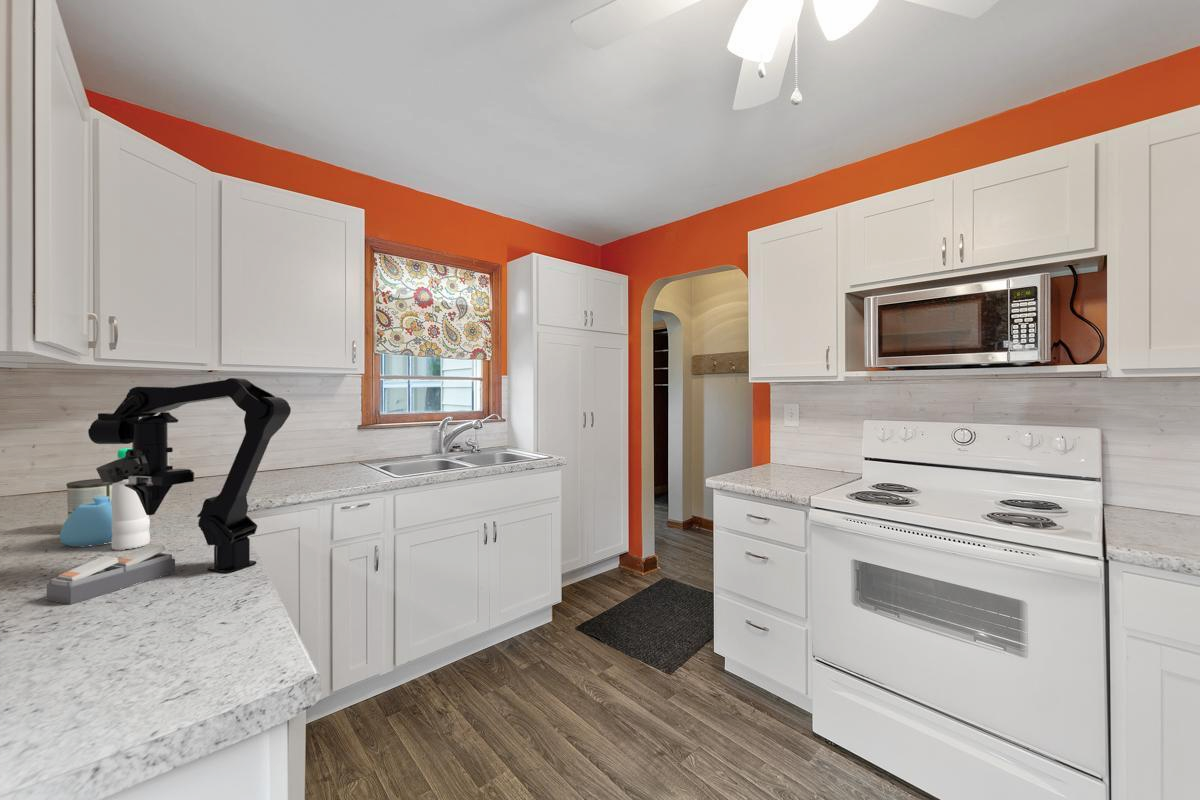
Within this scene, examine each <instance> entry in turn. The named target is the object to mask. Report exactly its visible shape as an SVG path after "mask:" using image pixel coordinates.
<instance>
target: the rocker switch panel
mask: <svg viewBox="0 0 1200 800" xmlns="http://www.w3.org/2000/svg"><path fill="white" fill-rule="evenodd" d="M174 572H175V573H176V558H173V554H170V553H163V552H160V553H158V554H156V555H154V556H152V557H150V558H148V559H145V560H143V561H141V562H139V563H137V564H133V565H129V566H125V567H122V566H115V565H111V566H109V567H107V568H105V569H103V570H100V571H98V572H96V573H94V574H92V575H90V576H87V577H85V578H81V579H77V580H74V581H65V580H59V577H58V576H57V577H55V578H54V577H53V578H51V579H50V580H49V583H47V584H46V601H50V602H51V601H52V602H56V603H62V604H66V605H73V604H77V603H81V602H83V601H84V602H85V601H86V600H90V598H91V599H94V598H97V597H100V596H103V595H102V594H104V595H106V593H107V594H110V593H113V592H112V591H114V592H116V591H115V590H117V589H120V588H123V587H127V586H130V585H133V584H136V583H139V582H143V581H146V582H148V581H147V580H150V581H152V580H151V579H153V580H155V579H154V578H156V579H158V578H157V577H159V578H161V577H160V576H163V577H165V576H164V575H166V576H168V575H167V574H169V575H172V574H171V573H173V574H175V573H174ZM143 583H144V582H143ZM136 585H137V584H136ZM133 586H134V585H133ZM130 587H131V586H130ZM127 588H128V587H127ZM123 589H124V588H123ZM120 590H121V589H120ZM117 591H118V590H117ZM109 592H110V593H109ZM99 595H100V596H99ZM96 596H97V597H96ZM93 597H94V598H93Z"/></svg>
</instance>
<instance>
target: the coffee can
mask: <svg viewBox="0 0 1200 800" xmlns="http://www.w3.org/2000/svg"><path fill="white" fill-rule="evenodd" d="M112 485H113V484H112V483H111V482H102V480H101V478H92V479H91V478H90V479H81V480H76V481H71V482H67V483H66V487H67V488H66V490H67V491H66V493H67V494H66V497H67V498H66V499H67V501H66V502H67V518H68V517H69V516H70V515H71V513H72V512H73V511H74V510H75V509H76V508H77V507H78V506H80V505H84V504H89V503H95V501H94V499H93V498H96V497H103V496H108V497H109V500H108V501H111V497H112Z"/></svg>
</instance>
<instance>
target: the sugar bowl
mask: <svg viewBox="0 0 1200 800" xmlns="http://www.w3.org/2000/svg"><path fill="white" fill-rule="evenodd" d="M93 499H94V501H95V503H89V504H84V505H80V506H78V507H77V508H76V509H75V510H74V511H73V512H72V513H71V515H70V516H69V517H68V516H67V518H66V520H65V522H64V524H63V526H62V527H61V528H60V534H59V540H60V541H61V542H62V543H63V544H64V545H66V546H67V545H68V546H67V547H69V546H89V545H98V544H104V543H109V542H112V535H113V534H112V521H113V518H112V506H111V501H108V500H109V497H108V496H103V497H96V498H93ZM98 546H99V545H98ZM89 547H90V546H89Z"/></svg>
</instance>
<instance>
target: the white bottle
mask: <svg viewBox="0 0 1200 800" xmlns="http://www.w3.org/2000/svg"><path fill="white" fill-rule="evenodd" d="M127 449H132V447H127V448H120V449H118V450H117V458H118V459H121V458H124V457H125V456H126V451H127ZM112 484H113V485H112V497H111V506H112V518H113V521H112V534H113V535H112V543H111V549H112V550H114V551H126V550H125V549H131V550H133V549H132V548H136V549H138V548H137V547H141V546H144V547H146V546H148V545H150V543H151V534H150V526H151V525H150V524H151V520H150V515H146V512H145V510H144V508H143V506H142V503H141V501H140V499H139V497H138V495H137V493H136V492H135V491H134V490H132V489H130V488H129V487H126V486H124V485H125V484H129V479H126V480H122V481H120V482H117V483H112ZM147 544H148V545H147ZM145 545H146V546H145ZM141 548H142V547H141Z"/></svg>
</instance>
